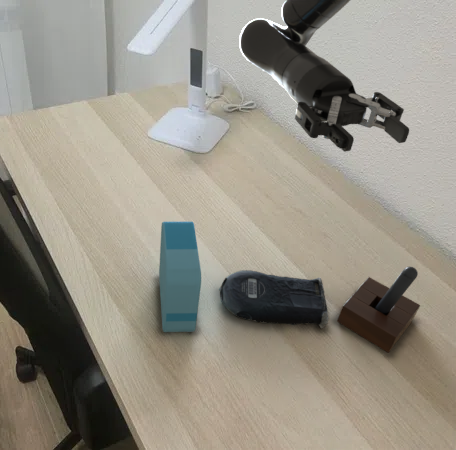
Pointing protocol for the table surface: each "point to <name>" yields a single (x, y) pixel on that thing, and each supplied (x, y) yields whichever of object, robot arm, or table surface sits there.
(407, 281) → the dark grey peg
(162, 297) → the data package
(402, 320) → the pen stand
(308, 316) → the electronic device
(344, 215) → the table surface
